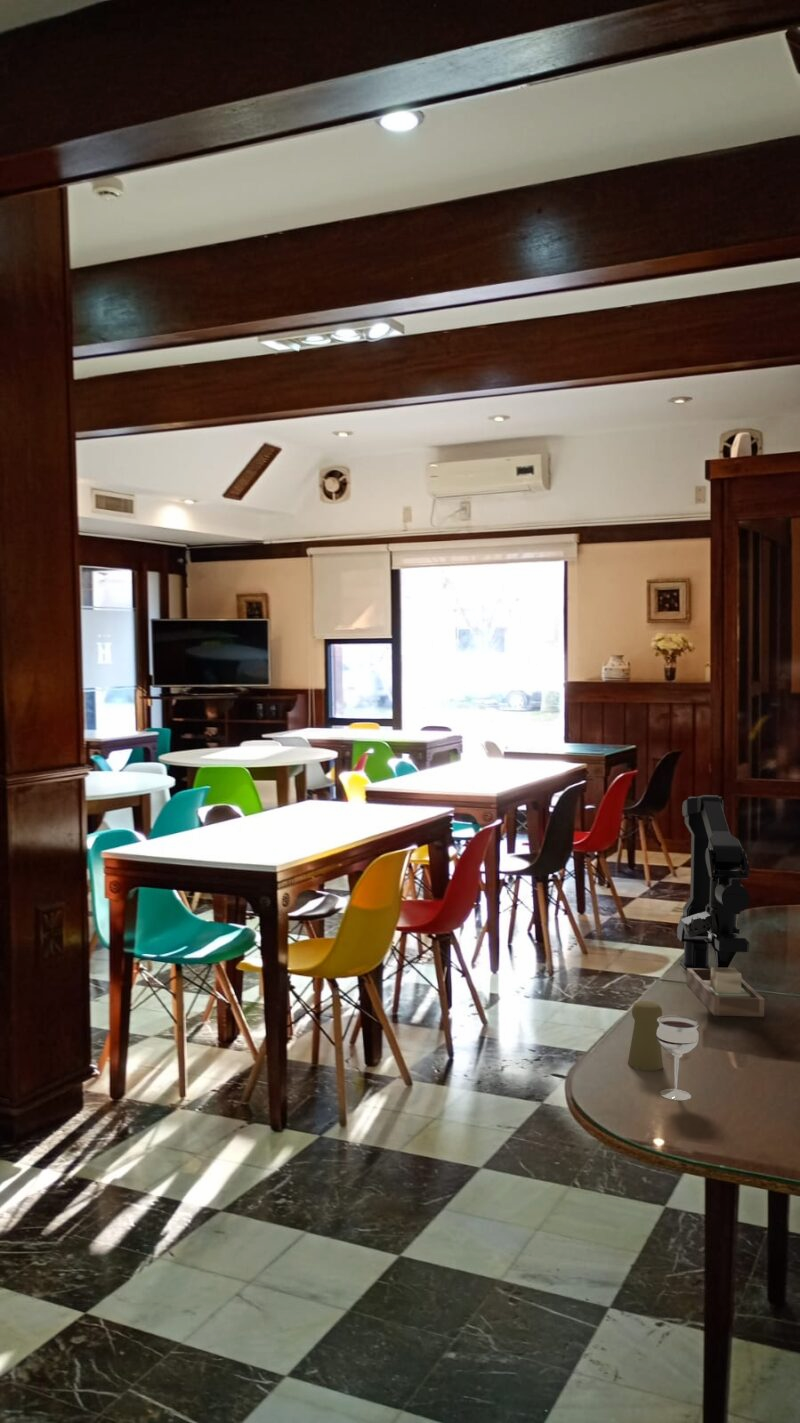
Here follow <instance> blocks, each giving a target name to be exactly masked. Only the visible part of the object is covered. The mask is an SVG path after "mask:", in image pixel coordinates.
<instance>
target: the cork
mask: <svg viewBox="0 0 800 1423" xmlns="http://www.w3.org/2000/svg"><path fill="white" fill-rule="evenodd" d="M662 1008H663V1007H662V1006H661V1005H660V1004H659V1003H657V1002H655V1001H650V1000H639V1001H637V1002H635V1003H634V1004H633V1005H632V1009H631V1016H632V1018H633V1019H634V1025H633V1030H632V1036H631V1037H632V1038H631V1040H630V1042H631V1043H630V1048H629V1054H628V1059H627V1065H628V1066H629V1067H631V1068H633V1069H635V1070H640V1071H649V1072H653V1071H659V1070H661V1069H663V1068H664V1064H663V1053H662V1046H661V1044H660V1043H659V1042H658V1039H657V1036H656V1034H657V1033H656V1030H657V1027H658V1026H659V1023H658V1021H657V1019H658V1018H659V1017H662V1016H663V1009H662Z"/></svg>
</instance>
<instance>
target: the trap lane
mask: <svg viewBox="0 0 800 1423" xmlns="http://www.w3.org/2000/svg"><path fill="white" fill-rule="evenodd" d="M685 975H686V978H685V979H686V980H685V984H686V985H687V986H688V988H689V989H690V991H692V993H694V994H695V995H696V996H697V998H698V999H699V1000H700V1001H701V1003H703V1005H704V1006H705V1007H706V1008H707V1009H708V1010H709V1012H711V1014H712V1015H713V1016H719V1017H720V1016H721V1017H722V1016H725V1017H726V1016H727V1017H728V1016H729V1017H730V1016H731V1017H765V998H764V997H763V996H761V995H760V994H759V993H758V992H757V991H756V990H755V988H753V987H752V986H751V985H749V983H747V981H745V980H744V979H743V977H741V993H717V992H716V991H715V990H714V989H713V988H712V987H711V986H710V979H711V969H702V968H687V969H686V974H685Z"/></svg>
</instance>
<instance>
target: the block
mask: <svg viewBox="0 0 800 1423" xmlns="http://www.w3.org/2000/svg"><path fill="white" fill-rule="evenodd" d="M742 976H743V975H742V973H741V972H740V971H739V970H738V969H736V967H728V968H721V967H715V966H712V967H711V979H710V986H711V987H712V988H713V989H714V990H715V991H716V992H717V993H741V978H742Z"/></svg>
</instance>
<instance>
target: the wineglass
mask: <svg viewBox="0 0 800 1423" xmlns="http://www.w3.org/2000/svg"><path fill="white" fill-rule="evenodd" d="M657 1021H658V1023H659V1026H658V1027H657V1030H656V1033H657V1034H656V1036H657V1039H658V1042H659V1043H660V1044H661V1048H663V1049H664V1050H665V1051H667V1052H669V1053H670V1054H671V1055H672V1056H673V1058H674V1065H673V1068H674V1069H673V1070H674V1071H673V1072H674V1073H673V1074H674V1082H673V1083H674V1085H673V1086H674V1088H666V1089H663V1090H660V1092H659V1095H660V1096H662V1097H663V1098H665V1099H668V1100H672V1101H688V1100H690V1099H691V1098H692V1095H691V1093H689V1092H687V1091H685V1090H681V1089H678V1081H679V1080H678V1078H679V1077H678V1076H679V1065H680V1058H681V1057H682V1056H683V1054H687V1053H690V1052H691V1051H693V1049H694V1048H695V1047H697V1045H698V1042H699V1039H700V1038H699V1037H700V1034H699V1030H698V1027H699V1025H700V1024H699V1021H698V1020H696V1019H694V1018H691V1017H687V1016H683V1015H662V1017H659V1018H658V1019H657Z"/></svg>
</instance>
